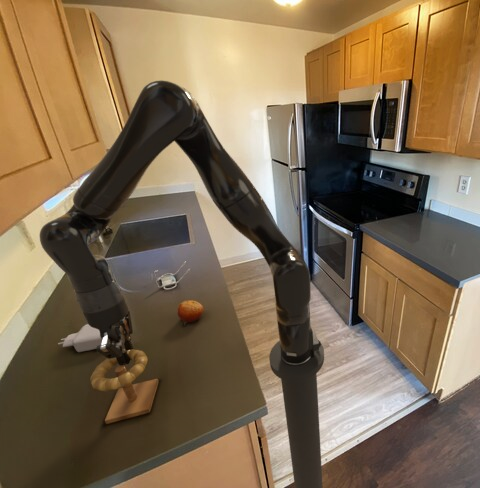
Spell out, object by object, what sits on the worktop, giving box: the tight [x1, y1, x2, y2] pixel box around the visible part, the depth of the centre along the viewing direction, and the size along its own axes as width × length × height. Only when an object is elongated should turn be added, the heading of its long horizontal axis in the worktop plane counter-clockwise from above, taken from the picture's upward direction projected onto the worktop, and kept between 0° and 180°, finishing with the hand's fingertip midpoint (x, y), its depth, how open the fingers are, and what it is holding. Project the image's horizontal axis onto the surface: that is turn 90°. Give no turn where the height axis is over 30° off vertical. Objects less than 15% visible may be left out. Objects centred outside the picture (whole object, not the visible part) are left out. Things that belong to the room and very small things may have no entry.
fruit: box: [177, 299, 204, 326], centre depth 96 cm, size 8×8×8 cm
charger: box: [57, 323, 103, 353], centre depth 87 cm, size 5×9×15 cm
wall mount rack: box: [153, 260, 191, 291], centre depth 121 cm, size 16×14×6 cm
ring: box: [89, 348, 149, 392], centre depth 64 cm, size 11×11×2 cm
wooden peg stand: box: [104, 365, 159, 425], centre depth 66 cm, size 9×9×11 cm
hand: (127, 358), depth 68 cm, fingers closed on ring, 2 cm apart
